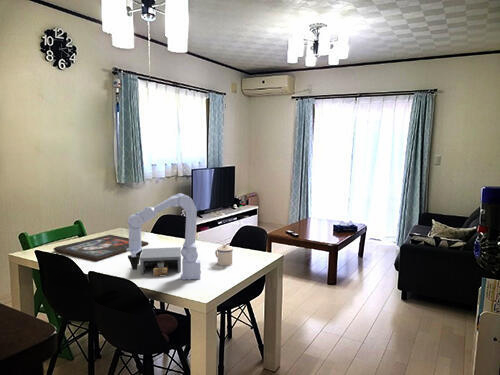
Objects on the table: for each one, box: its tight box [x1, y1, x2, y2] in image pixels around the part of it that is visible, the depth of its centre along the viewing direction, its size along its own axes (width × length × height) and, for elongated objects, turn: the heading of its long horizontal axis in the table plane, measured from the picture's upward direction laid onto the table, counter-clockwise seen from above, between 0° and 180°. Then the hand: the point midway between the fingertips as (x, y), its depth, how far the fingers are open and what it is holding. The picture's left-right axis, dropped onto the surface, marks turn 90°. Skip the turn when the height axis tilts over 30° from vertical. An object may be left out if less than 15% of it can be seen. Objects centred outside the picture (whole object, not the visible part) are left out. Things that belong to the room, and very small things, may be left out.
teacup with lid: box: [214, 243, 233, 267], centre depth 214 cm, size 12×9×12 cm
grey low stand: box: [139, 246, 182, 275], centre depth 204 cm, size 21×18×9 cm
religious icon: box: [53, 234, 149, 262], centre depth 241 cm, size 40×45×3 cm
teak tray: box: [153, 260, 169, 277], centre depth 199 cm, size 7×16×6 cm, turn 11°
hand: (135, 267), depth 177 cm, fingers open, 7 cm apart
